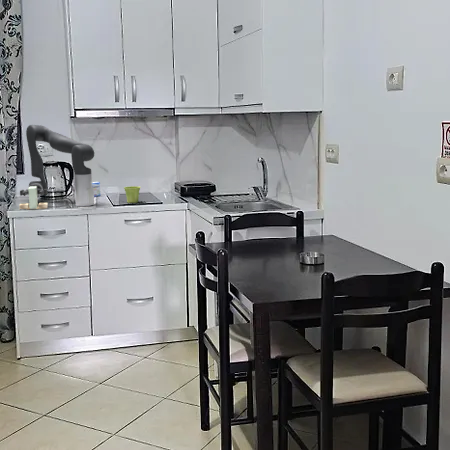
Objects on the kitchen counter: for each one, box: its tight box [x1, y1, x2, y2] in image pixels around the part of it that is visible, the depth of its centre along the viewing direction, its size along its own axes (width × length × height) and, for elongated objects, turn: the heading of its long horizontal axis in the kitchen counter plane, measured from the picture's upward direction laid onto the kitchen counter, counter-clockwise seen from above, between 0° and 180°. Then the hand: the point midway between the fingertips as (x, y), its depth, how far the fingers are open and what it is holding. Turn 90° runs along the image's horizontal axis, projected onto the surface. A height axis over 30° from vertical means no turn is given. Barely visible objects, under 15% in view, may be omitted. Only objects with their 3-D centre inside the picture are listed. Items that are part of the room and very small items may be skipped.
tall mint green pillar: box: [27, 186, 39, 210], centre depth 359 cm, size 4×8×11 cm, turn 10°
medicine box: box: [92, 181, 102, 198], centre depth 406 cm, size 8×4×9 cm, turn 143°
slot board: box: [18, 202, 49, 210], centre depth 360 cm, size 14×7×2 cm, turn 100°
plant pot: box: [123, 185, 142, 204], centre depth 377 cm, size 9×9×9 cm
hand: (32, 193), depth 358 cm, fingers open, 8 cm apart
